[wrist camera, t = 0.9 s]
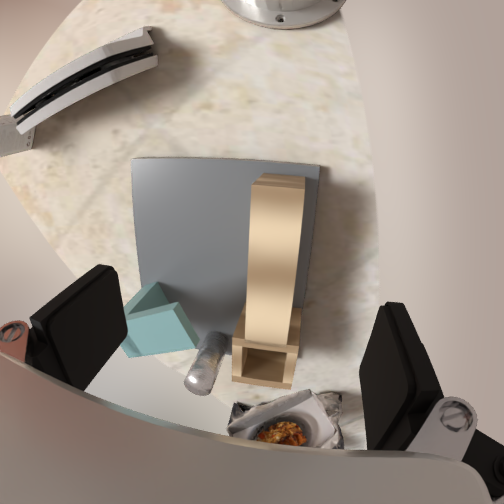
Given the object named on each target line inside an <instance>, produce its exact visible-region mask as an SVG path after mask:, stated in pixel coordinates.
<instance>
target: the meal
mask: <svg viewBox="0 0 504 504" xmlns="http://www.w3.org/2000/svg"><path fill="white" fill-rule="evenodd" d="M341 402H342V396H341V395H340V394H337V393H334V392H331V393H325V394H320V395H316V394H315V393H313V392H312V394H311V392H310V389H308V390H304V391H299V392H296V393H292V394H289V395H286V396H283V397H280V398H278V399H276V400H274V401H272V402H270V403H268V404H265V405H262V404H259V405H256V406H253V407H246V406H241V405H240V406H241V407H242V408H243V409H244V410H245V412H242V411H241V409H240V407H239V406H238V404H237V403H234V405H233V408H232V412H231V416H230V420H229V423H228V426H227V431H228V433H229V436H230V437H235V438H241V439H247V440H253V441H259V442H266V443H273V444H281V445H290V446H300V447H312V448H325V449H344V441H343V436H342V433H341V429H340V427H339V425H338V421H339V418H340V416H341V414H342V405H341ZM327 410H332V411H338V412H337V413H335V414H333V415H331V416H329V414H328V413H327V412H326V411H327ZM333 423H334V425H335V427H336V428H337V430H336V429H335V428H334V425H333Z"/></svg>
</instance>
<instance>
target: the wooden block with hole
mask: <svg viewBox="0 0 504 504" xmlns="http://www.w3.org/2000/svg"><path fill="white" fill-rule="evenodd" d="M304 194H305V177H303V176H292V175H281V174H269V173H263V174H262V175H261V176H260V177H259V178H258V179H257V180H256V181H255V182H254V183H253V184H252V185H251V207H250V229H249V252H248V274H247V298H246V302H245V304H244V307H243V310H242V312H241V315H240V318H239V320H238V323H237V326H236V329H235V331H234V334H233V337H232V381H234V382H239V383H246V384H252V385H259V386H266V387H273V388H281V389H290V390H291V386H292V381H293V376H294V371H295V366H296V360H297V355H298V350H299V342H300V327H301V311H302V308H294V307H292V302H293V294H294V286H295V278H296V270H297V262H298V253H299V244H300V235H301V225H302V215H303V205H304Z"/></svg>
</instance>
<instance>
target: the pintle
mask: <svg viewBox="0 0 504 504" xmlns="http://www.w3.org/2000/svg"><path fill="white" fill-rule="evenodd" d="M228 345H229V339H228V337H227V336H226V335H225V334H223V333H222V332H219V331H211V332H209V333H207V335H206V337H205V339H204V341H203V343H202V345H201V347H200V349H199V351H198V353H197V355H196V357H195V360H194V362H193V364H192V366H191V368H190V370H189V372H188V374H187V376H186V378H185V380H184V385H185V387H186V388H187V389H188V390H189V391H190V392H192V393H194V394H196V395H200V396H204V395H208V394H210V393H211V390H212V388H213V385H214V382H215V380H216V377H217V375H218V372H219V369H220V367H221V364H222V361H223V359H224V356H225V353H226V351H227V348H228Z"/></svg>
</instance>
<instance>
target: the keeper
mask: <svg viewBox="0 0 504 504" xmlns="http://www.w3.org/2000/svg"><path fill="white" fill-rule="evenodd" d="M124 313H125V317H126V322H127V327H128V334H127V337H126V338H125V340H124V341H123V342H122V343H121V344H120V346H121V347H122V349H123V350H124V352H125V353H126V355H127V356H128V357H129V358H131V357H139V356H147V355H154V354H161V353H168V352H175V351H181V350H187V349H193V348H196V347H197V345H198V343H199V341H200V338H199V337H198V335H197V333H196V332H195V330H194V328H193V326H192V325H191V323H190V321H189V319H188V318H187V316H186V314H185V312H184V311H183V309H182V307H181V305H180V303H179V302H175V303H172V304H170V303H169V302H168V300H167V298H166V296H165V294H164V293H163V291H162V289H161V287H160V285H159V283H158V282H154V283H151V284H148V285H145V286H143V287H142V288H141V290H140V291H139V292H138V293H137V294H136V295H135V296H134V297H133V298H132V299H131V300H130V301H129V302H128V303H127V304H126V305H125V306H124Z"/></svg>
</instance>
